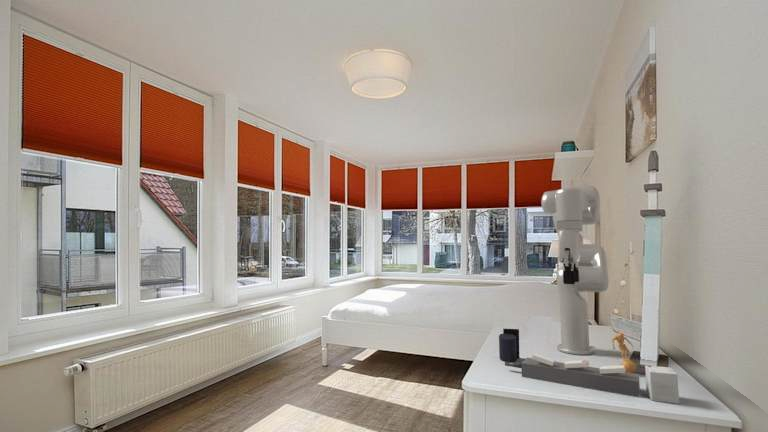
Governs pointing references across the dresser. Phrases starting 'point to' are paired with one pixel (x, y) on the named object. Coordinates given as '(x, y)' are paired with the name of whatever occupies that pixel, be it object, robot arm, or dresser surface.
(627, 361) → the figurine
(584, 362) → the block
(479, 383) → the dresser surface
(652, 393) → the skincare box
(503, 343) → the speaker
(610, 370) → the block
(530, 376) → the power strip
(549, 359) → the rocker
